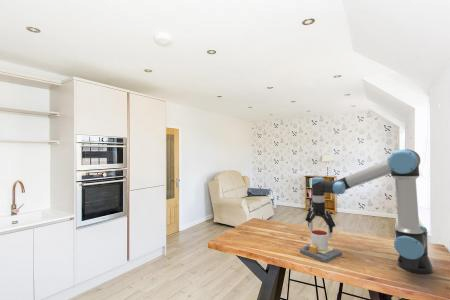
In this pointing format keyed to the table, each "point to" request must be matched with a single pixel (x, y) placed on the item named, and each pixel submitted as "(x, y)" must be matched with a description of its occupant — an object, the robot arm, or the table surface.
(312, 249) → the toggle
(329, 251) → the gray square tray
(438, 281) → the table surface
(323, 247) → the cup
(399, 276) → the table surface
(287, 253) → the table surface
